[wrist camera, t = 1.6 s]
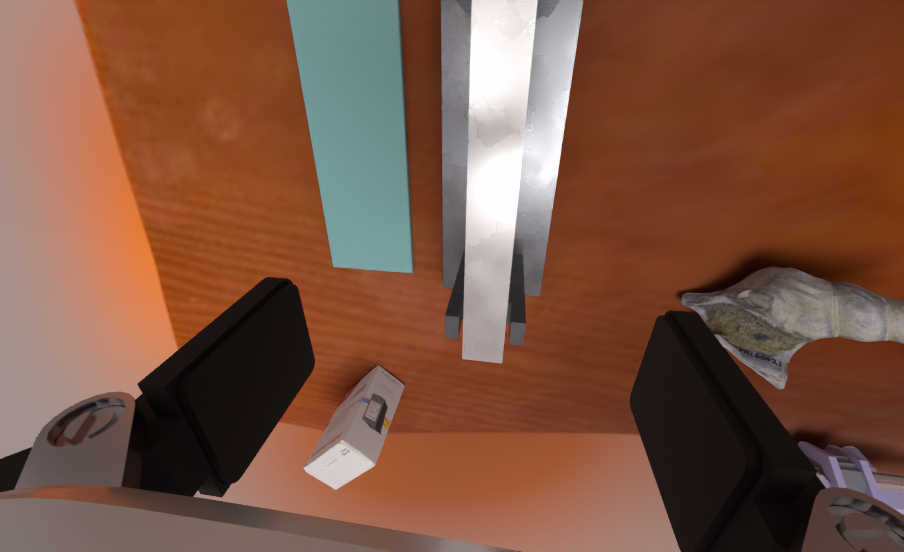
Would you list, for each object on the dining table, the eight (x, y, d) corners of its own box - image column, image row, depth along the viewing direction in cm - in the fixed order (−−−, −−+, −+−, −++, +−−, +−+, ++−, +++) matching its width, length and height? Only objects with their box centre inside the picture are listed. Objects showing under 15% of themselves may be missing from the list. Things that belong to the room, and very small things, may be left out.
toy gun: (891, 476, 44) (961, 552, 37) (645, 444, 48) (667, 508, 41) (931, 437, 40) (1016, 513, 33) (661, 406, 44) (688, 468, 37)
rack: (444, -58, 26) (394, -146, 15) (589, -63, 25) (646, -165, 14) (445, 281, 40) (419, 359, 29) (538, 288, 39) (547, 373, 28)
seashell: (694, 245, 34) (754, 305, 25) (903, 259, 32) (1047, 330, 23) (662, 331, 39) (704, 405, 30) (841, 347, 37) (941, 433, 28)
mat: (272, -106, 26) (267, -110, 26) (393, -114, 25) (391, -118, 24) (335, 264, 41) (333, 266, 40) (413, 270, 40) (412, 273, 39)
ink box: (370, 411, 53) (335, 493, 43) (342, 391, 51) (299, 471, 41) (407, 384, 49) (378, 467, 39) (378, 361, 48) (340, 441, 37)
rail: (480, -95, 17) (475, -123, 15) (545, -98, 17) (550, -128, 15) (466, 334, 30) (462, 358, 28) (503, 337, 30) (501, 363, 27)
